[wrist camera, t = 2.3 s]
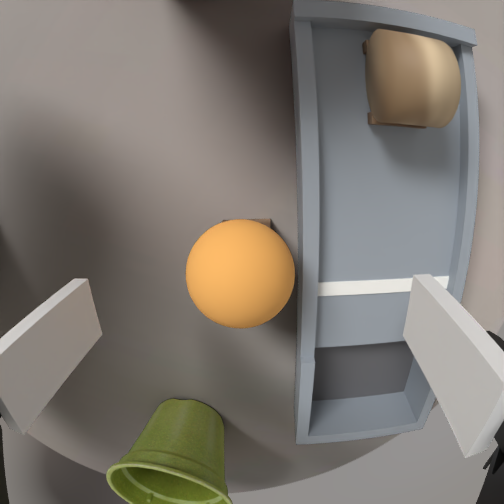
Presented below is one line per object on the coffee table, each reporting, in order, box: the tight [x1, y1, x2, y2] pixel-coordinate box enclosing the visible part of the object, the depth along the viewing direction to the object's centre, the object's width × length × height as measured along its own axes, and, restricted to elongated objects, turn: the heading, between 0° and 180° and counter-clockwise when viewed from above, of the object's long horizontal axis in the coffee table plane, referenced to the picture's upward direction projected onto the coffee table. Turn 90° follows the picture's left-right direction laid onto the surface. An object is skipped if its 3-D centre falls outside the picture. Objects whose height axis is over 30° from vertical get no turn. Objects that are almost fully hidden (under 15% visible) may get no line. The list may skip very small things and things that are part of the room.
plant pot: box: [106, 399, 232, 504], centre depth 21 cm, size 9×9×9 cm
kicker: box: [362, 29, 461, 129], centre depth 12 cm, size 3×4×4 cm
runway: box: [289, 0, 479, 445], centre depth 17 cm, size 10×27×4 cm, turn 3°
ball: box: [186, 219, 295, 328], centre depth 15 cm, size 5×5×5 cm
